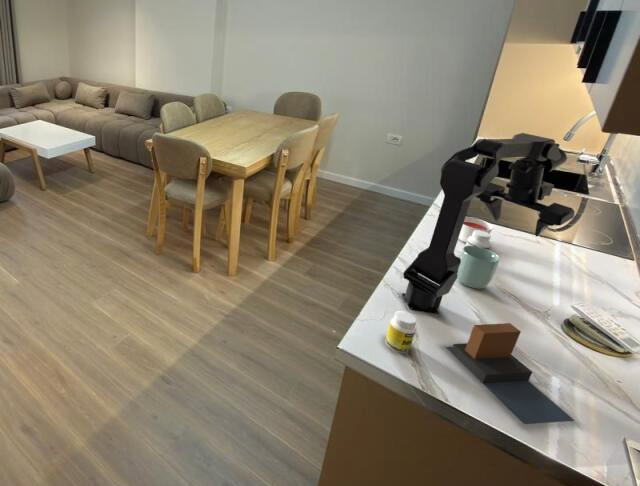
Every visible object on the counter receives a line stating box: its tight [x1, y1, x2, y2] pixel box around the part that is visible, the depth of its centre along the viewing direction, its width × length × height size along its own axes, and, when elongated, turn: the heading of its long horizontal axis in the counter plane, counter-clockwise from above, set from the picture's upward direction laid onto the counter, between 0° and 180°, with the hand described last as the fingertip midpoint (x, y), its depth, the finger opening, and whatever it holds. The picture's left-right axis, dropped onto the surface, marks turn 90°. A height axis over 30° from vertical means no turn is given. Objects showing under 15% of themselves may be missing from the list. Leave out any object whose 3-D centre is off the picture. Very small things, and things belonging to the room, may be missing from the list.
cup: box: [457, 245, 500, 289], centre depth 109 cm, size 8×8×10 cm
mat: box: [445, 346, 575, 425], centre depth 81 cm, size 18×10×1 cm, turn 3°
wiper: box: [450, 322, 533, 384], centre depth 83 cm, size 8×10×9 cm
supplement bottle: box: [384, 310, 417, 354], centre depth 89 cm, size 5×5×8 cm
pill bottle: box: [465, 230, 492, 250], centre depth 119 cm, size 5×5×10 cm
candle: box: [458, 216, 494, 244], centre depth 131 cm, size 9×9×6 cm
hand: (516, 227), depth 109 cm, fingers open, 9 cm apart
